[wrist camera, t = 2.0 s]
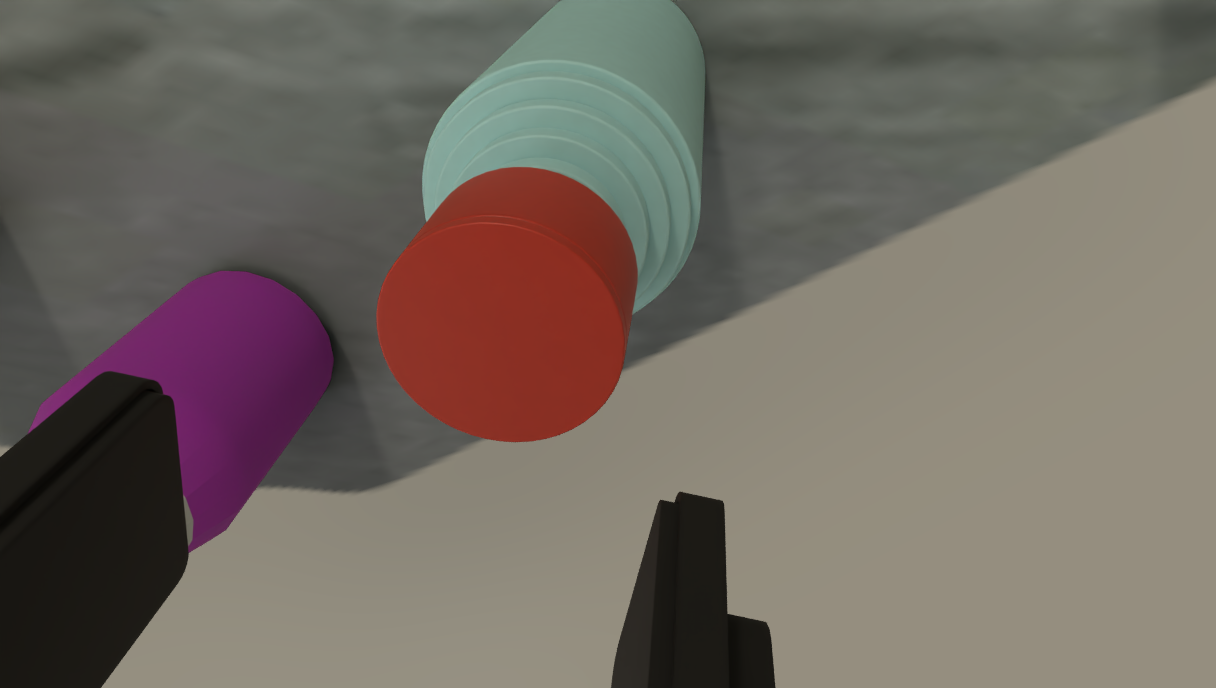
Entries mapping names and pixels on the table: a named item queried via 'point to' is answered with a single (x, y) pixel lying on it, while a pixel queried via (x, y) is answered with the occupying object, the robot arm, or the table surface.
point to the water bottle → (593, 122)
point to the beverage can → (223, 384)
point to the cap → (512, 306)
